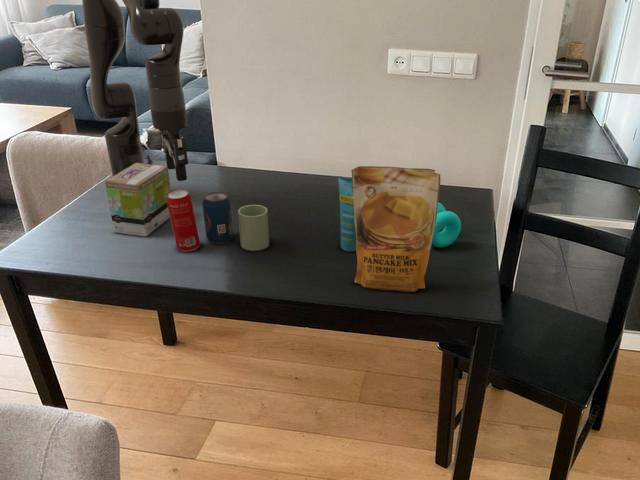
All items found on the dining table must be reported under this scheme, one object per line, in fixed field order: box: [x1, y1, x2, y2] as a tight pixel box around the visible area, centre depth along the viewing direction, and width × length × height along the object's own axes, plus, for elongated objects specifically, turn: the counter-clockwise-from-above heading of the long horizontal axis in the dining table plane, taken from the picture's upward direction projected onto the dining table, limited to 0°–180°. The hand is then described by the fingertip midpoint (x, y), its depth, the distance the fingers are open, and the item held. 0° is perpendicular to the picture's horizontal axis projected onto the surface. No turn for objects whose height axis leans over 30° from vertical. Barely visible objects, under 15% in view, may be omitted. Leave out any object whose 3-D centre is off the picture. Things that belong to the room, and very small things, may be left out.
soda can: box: [201, 191, 234, 245], centre depth 151 cm, size 7×7×12 cm
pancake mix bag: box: [350, 165, 441, 293], centre depth 130 cm, size 7×19×28 cm, turn 84°
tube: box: [337, 175, 356, 252], centre depth 147 cm, size 7×5×19 cm, turn 72°
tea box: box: [104, 163, 172, 237], centre depth 156 cm, size 15×10×15 cm, turn 168°
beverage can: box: [166, 189, 201, 253], centre depth 145 cm, size 6×6×15 cm
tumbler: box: [237, 204, 270, 252], centre depth 149 cm, size 7×7×10 cm
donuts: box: [431, 201, 462, 249], centre depth 154 cm, size 10×10×10 cm
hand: (177, 174), depth 139 cm, fingers open, 8 cm apart
